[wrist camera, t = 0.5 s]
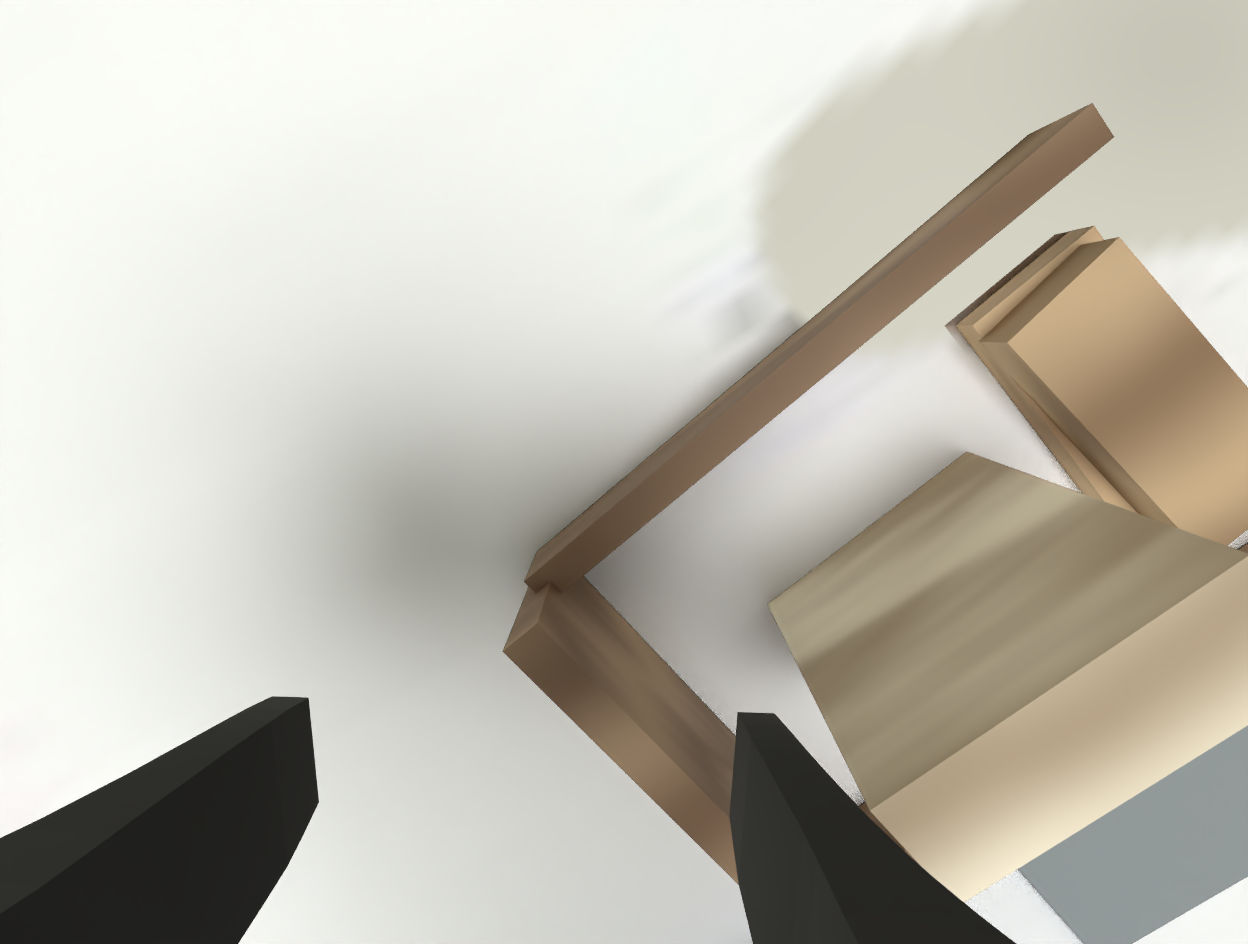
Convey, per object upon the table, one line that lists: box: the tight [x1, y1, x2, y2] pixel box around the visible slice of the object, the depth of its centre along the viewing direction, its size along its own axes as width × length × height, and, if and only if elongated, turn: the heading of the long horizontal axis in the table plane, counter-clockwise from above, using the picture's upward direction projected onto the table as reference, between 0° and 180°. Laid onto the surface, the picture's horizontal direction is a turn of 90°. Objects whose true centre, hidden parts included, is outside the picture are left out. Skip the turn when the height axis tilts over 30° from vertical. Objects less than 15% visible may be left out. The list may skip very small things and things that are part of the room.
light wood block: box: [767, 452, 1248, 902], centre depth 16 cm, size 3×8×9 cm, turn 131°
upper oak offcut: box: [978, 237, 1248, 546], centre depth 17 cm, size 9×4×1 cm, turn 47°
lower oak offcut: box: [945, 226, 1138, 514], centre depth 19 cm, size 10×4×2 cm, turn 42°
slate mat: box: [1018, 726, 1248, 944], centre depth 21 cm, size 8×13×1 cm, turn 131°
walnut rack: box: [503, 103, 1248, 885], centre depth 17 cm, size 16×20×5 cm
